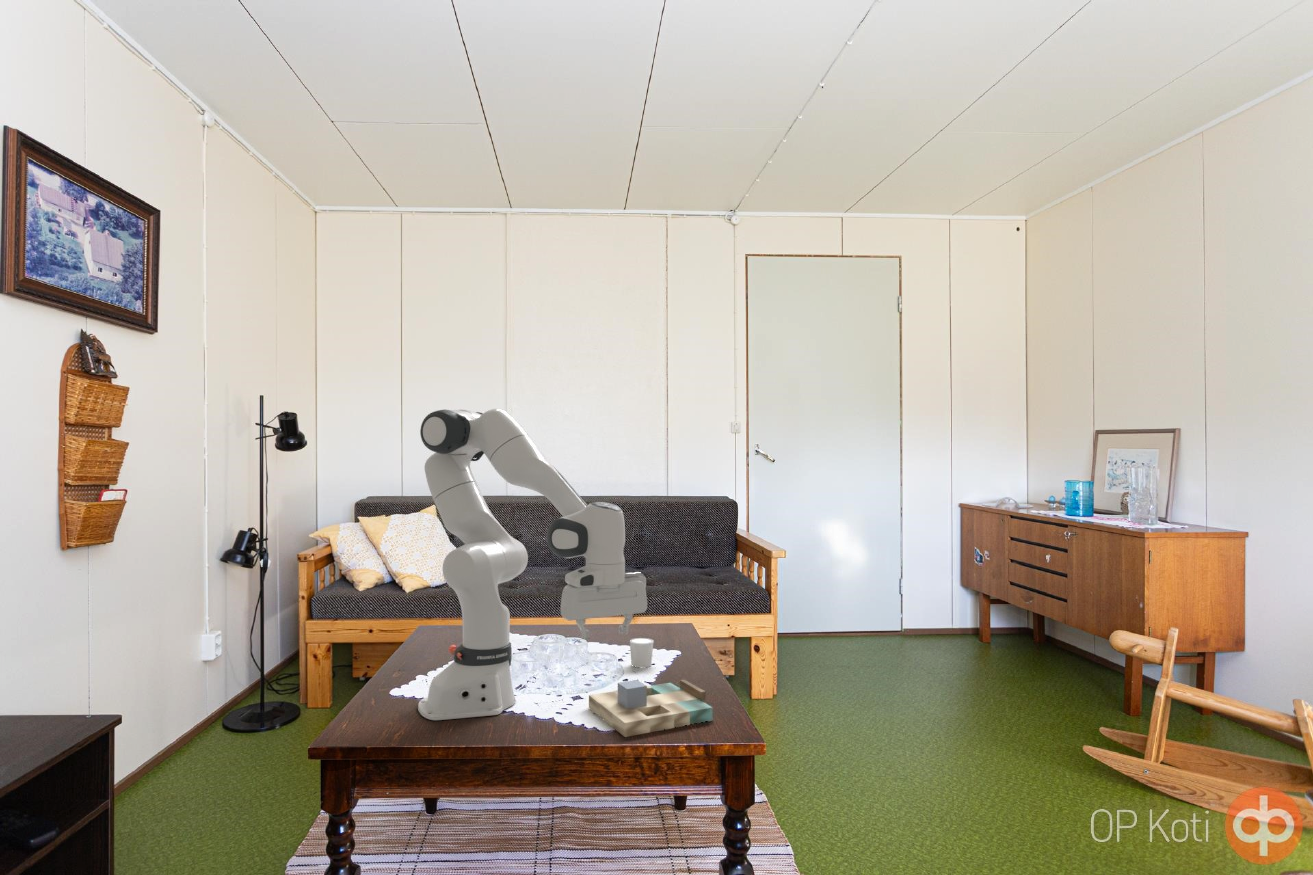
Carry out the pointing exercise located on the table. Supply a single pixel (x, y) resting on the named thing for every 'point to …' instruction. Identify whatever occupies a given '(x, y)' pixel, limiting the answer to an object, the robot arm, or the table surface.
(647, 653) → the shot glass
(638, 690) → the slate block
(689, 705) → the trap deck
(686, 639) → the table surface
